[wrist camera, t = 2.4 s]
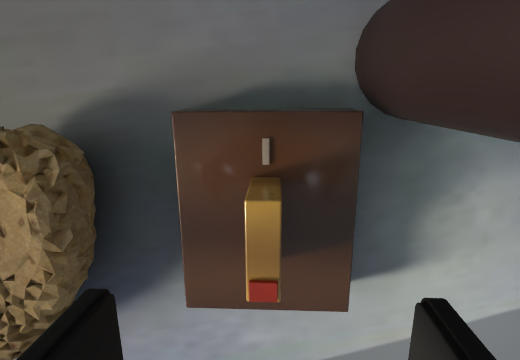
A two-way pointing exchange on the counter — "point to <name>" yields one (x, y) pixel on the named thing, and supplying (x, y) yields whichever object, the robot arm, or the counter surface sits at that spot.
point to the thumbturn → (263, 239)
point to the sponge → (41, 232)
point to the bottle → (445, 64)
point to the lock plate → (293, 201)
